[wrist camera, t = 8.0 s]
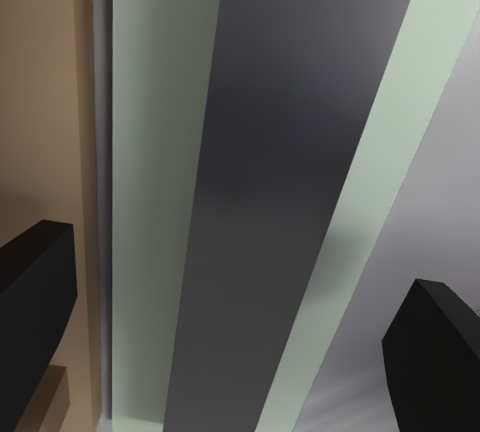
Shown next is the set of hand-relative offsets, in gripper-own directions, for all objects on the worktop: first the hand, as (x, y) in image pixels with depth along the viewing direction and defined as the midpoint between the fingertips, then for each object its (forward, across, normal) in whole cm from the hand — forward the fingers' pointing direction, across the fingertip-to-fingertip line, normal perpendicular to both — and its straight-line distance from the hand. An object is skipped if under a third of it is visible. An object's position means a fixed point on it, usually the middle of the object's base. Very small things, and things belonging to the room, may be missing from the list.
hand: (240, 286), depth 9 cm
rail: (+2, 0, 0) cm, 2 cm away
